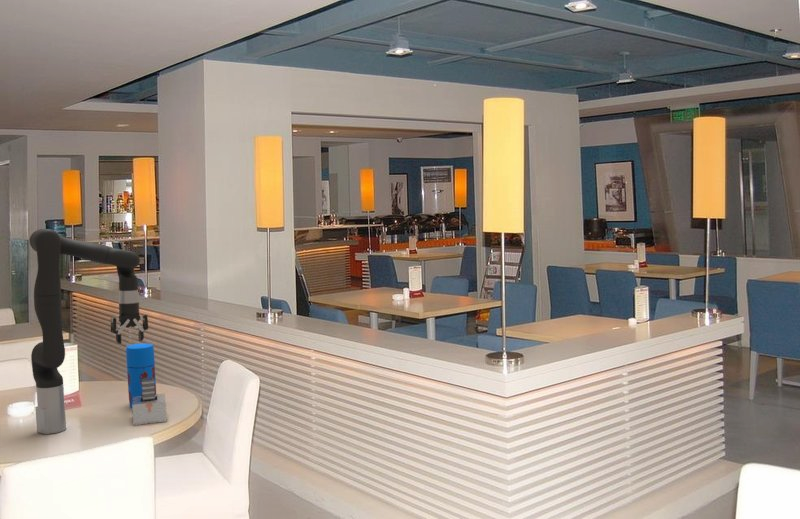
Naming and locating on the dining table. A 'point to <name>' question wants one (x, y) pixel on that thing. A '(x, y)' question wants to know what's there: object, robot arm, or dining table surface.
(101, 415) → the dining table surface
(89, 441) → the dining table surface
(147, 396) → the column
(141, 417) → the housing
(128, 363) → the thermos
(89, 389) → the dining table surface
